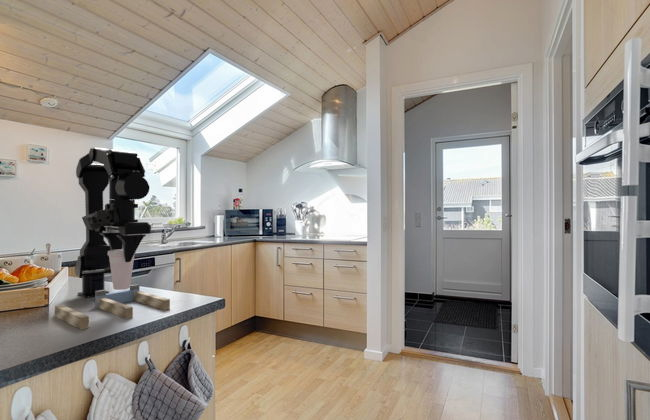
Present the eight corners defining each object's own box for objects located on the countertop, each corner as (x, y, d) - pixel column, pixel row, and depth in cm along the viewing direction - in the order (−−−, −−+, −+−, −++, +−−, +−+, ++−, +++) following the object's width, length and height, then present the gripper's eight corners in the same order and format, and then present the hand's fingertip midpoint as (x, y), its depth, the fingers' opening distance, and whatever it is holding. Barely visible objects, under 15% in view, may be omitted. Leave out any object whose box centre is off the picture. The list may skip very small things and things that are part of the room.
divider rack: (54, 316, 89) (54, 305, 89) (139, 299, 105) (139, 290, 105) (80, 329, 79) (80, 318, 79) (169, 308, 96) (169, 299, 96)
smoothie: (122, 291, 90) (123, 234, 90) (101, 290, 91) (101, 234, 91) (141, 286, 96) (141, 233, 96) (120, 284, 98) (120, 232, 97)
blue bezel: (95, 306, 97) (95, 291, 97) (136, 298, 106) (136, 284, 106) (97, 307, 96) (97, 291, 96) (139, 299, 105) (139, 284, 105)
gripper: (72, 199, 93) (72, 260, 93) (102, 198, 81) (102, 268, 82) (118, 200, 102) (118, 256, 102) (152, 199, 90) (151, 263, 90)
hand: (121, 260), depth 94 cm, fingers closed on smoothie, 6 cm apart
